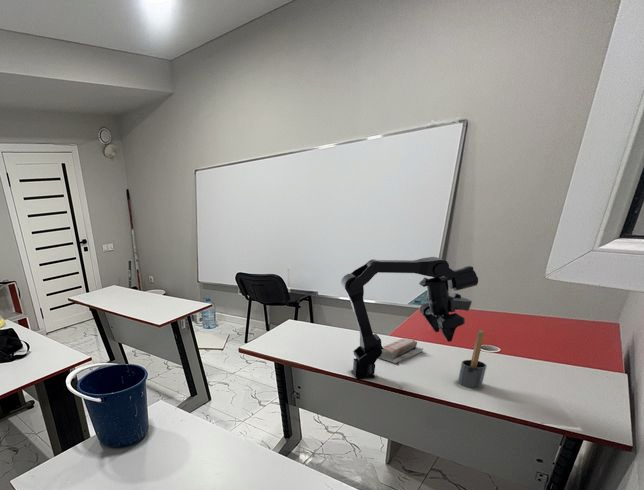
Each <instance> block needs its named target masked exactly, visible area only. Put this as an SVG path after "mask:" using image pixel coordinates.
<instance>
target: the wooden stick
mask: <svg viewBox="0 0 644 490" xmlns="http://www.w3.org/2000/svg"><path fill="white" fill-rule="evenodd" d="M484 336H485V331H484V329H477V334H476V338H475V343H474V345H473V351H472V355H471V359H470V360H471V364H470V367H475V368H477V364H478V361H479V358H480V354H481V350H482V345H483V342H484V338H485V337H484Z"/></svg>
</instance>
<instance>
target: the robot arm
mask: <svg viewBox="0 0 644 490" xmlns="http://www.w3.org/2000/svg"><path fill="white" fill-rule="evenodd" d="M379 273H381V274H382V273H383V274H416V275H421V276H424V277H423V278H422V280H420V281H419V283H418V285H420V286H421V287H423V288H425V287H426V290H427V297H426V298H425V301H426V302H427V303H423V304H421V306H420V307H419V312H420V314H421V315H422V316H423V317H424V319H425V320H426V321H427V322H428V324H429V325H430V327H431V328H432V330H433V331H434V332H435V333H439V332H441V334H442V335H443V337H444V338H445V340H446V341H447V343H448V342H449V343H450V342H452V341H453V338H454V335H455V332H456V330H457V329H458V327H461V326H463V325H465V323H466V321H465V320H466V319H465V317H464V316H462V315H461V314H459V313H456V310H458V311H466V312H468V311H470V309H471V305H472V302H473V301H472V300H470V299H468V298H467V297H462V295H461V294H459V293H452V294H451V295H450V290H453V291H454V292H458V291H461V290H465V289H469V288H473V287H477V286H478V284H479V277H478V275H477V273H476V271H475V270H474V266H472V265H467V266H464V267H461V268H458V269H452V268H451V267H450V264H449V262H448V261H447V260H446V259H442V258H440V257H437V256H429V257H421V258H418V259H414V260H413V259H412V260H410V259H409V260H408V259H407V260H404V259H403V260H402V259H401V260H399V259H398V260H396V259H395V260H394V259H375V258H374V259H370V260H368V261H367V262H366V263H364V264H363V265H361V266H359V267H358V268H356V269H353V271H352V272H350V273H346V274H344V276H342V278H341V280H340V284H341V287H342V289H343V290H344V293H345V294H346V296H347V297H348V299H349V301H350V304H351V308H352V312H353V315H354V318H355V321H356V325H357V328H358V332H359V346H358V347H357V348H355V349H354V350H353V351H352V352H353V355H354V357H355V358H353V365H352V369H351V370H350V372H351V374H352V375H353V376H354V377H355V379H357V380H360V379H361V380H363V379H375V378H376V376H375V371H376V362H377V360H378V359H380V358H379V357H380V356H381V355H382V349H384V348H383V346H382V339H381V338H380V336H379V335H378V334H377V333H374V332H373V329H372V325H371V322H370V318H369V315H368V310H367V308H366V305H365V304H366V303H365V301H364V294H365V289H364V288H365V287H364V286H366V285H367V284H368V283H369V282H370V281H371V280H372V279H373V278H374V276H376V275H377V274H379ZM427 277H429V278H427ZM430 277H431V278H430Z"/></svg>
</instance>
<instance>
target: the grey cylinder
mask: <svg viewBox="0 0 644 490" xmlns="http://www.w3.org/2000/svg"><path fill="white" fill-rule="evenodd" d="M471 360H472V359H465V360H462V361H461V363H460V367H459V372H458V378H457V384H458V385H459V386H461V387H465V388H469V389H480V388H482V386H483V384H484V379H485V376H486V375H485V374H486V371H487V366H488V365H487V364H486V363H485V362H483V361H480V360H478V364H477V368H475V367H470V364H471Z"/></svg>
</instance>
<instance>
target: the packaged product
mask: <svg viewBox="0 0 644 490" xmlns="http://www.w3.org/2000/svg"><path fill="white" fill-rule="evenodd" d="M382 347H383V348H384V349H382V355H381V356H380V357H379V358H378V359H381V360H384V361H388V362H389V363H394V364H397V363H399V362H401V361H403V360H406V359H408V358H410V357H413V356H416V355H417V354H420V353H422V352H423V350H424V347H421V346H418V341H417V340H415V339H411V338H401V339H398V340H396V341H393V342H391V343H388V344H385V345H384V346H382Z"/></svg>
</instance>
